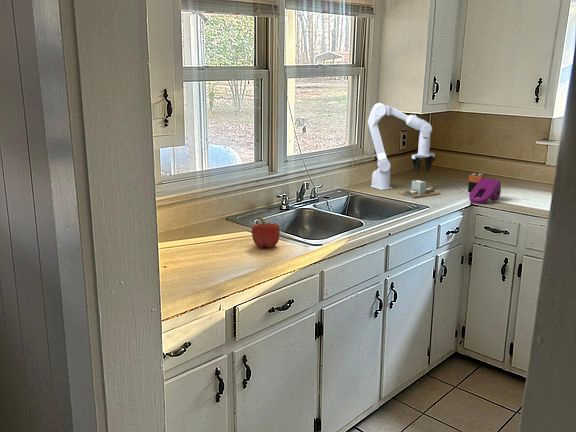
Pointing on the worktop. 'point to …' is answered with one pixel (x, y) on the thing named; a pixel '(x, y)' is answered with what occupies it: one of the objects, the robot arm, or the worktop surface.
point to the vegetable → (265, 234)
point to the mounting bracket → (485, 191)
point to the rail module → (419, 186)
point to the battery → (474, 180)
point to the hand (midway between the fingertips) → (422, 171)
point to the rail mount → (415, 194)
